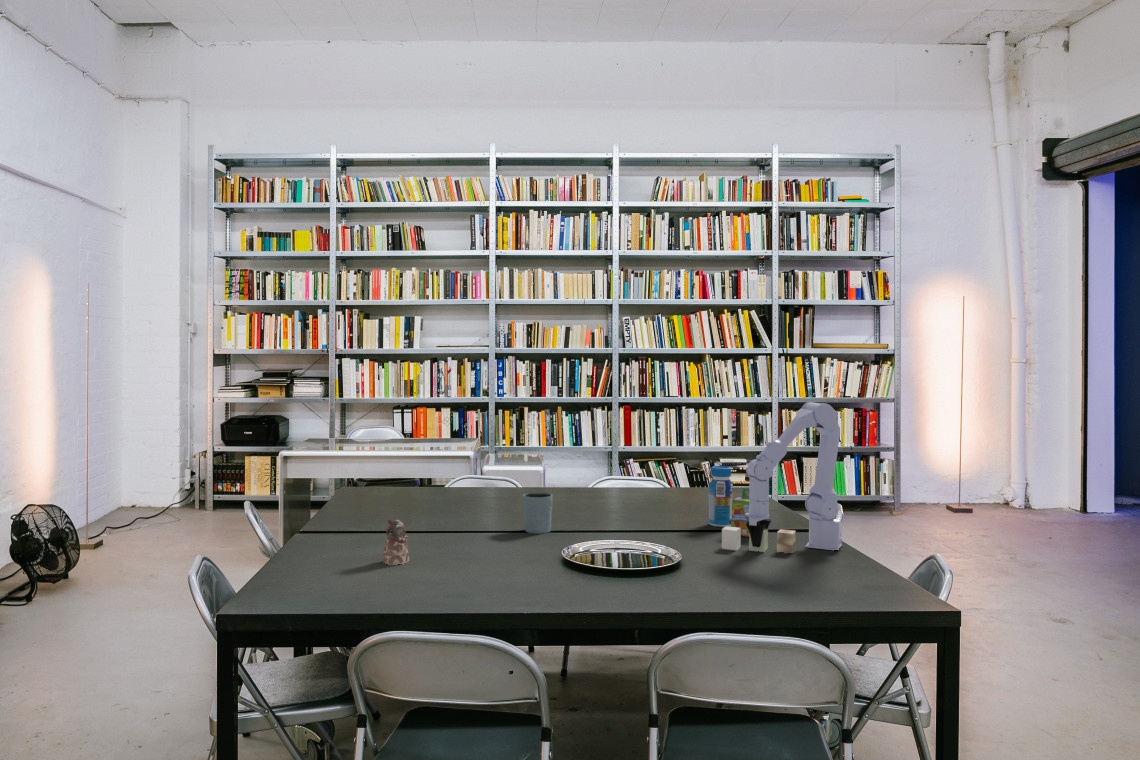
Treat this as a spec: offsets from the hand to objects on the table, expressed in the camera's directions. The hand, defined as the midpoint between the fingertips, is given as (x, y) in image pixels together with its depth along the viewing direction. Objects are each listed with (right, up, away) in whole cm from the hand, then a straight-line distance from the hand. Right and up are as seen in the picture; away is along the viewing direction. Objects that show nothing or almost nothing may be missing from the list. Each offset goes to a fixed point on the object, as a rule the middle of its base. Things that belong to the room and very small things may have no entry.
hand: (758, 544), depth 230 cm
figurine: (-105, -2, -16) cm, 107 cm away
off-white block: (-8, -1, +2) cm, 8 cm away
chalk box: (+2, -1, +21) cm, 21 cm away
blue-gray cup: (-67, -1, +24) cm, 72 cm away
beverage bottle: (-5, -1, +34) cm, 34 cm away
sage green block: (0, -1, 0) cm, 1 cm away
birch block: (+8, -2, -2) cm, 8 cm away
